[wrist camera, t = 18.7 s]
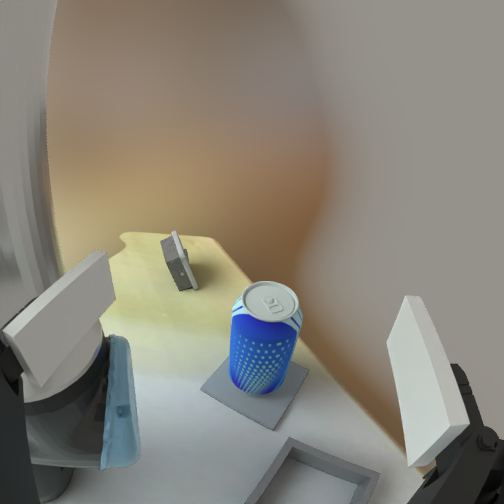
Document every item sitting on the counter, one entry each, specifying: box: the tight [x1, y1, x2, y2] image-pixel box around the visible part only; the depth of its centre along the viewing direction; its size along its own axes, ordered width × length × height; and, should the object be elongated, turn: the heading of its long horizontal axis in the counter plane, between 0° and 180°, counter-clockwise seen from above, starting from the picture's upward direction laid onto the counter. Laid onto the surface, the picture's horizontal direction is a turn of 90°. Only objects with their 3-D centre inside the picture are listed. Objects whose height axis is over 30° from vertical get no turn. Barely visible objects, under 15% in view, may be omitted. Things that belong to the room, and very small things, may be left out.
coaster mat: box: [201, 356, 309, 431], centre depth 42 cm, size 12×12×1 cm
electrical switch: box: [160, 231, 198, 291], centre depth 59 cm, size 9×5×9 cm, turn 22°
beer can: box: [228, 281, 303, 395], centre depth 38 cm, size 8×8×16 cm
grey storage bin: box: [244, 437, 380, 504], centre depth 25 cm, size 13×13×4 cm
